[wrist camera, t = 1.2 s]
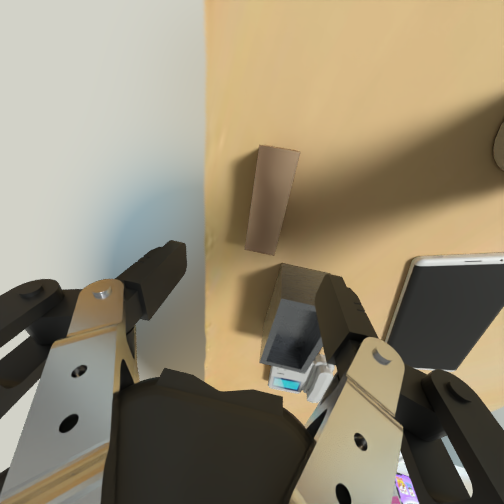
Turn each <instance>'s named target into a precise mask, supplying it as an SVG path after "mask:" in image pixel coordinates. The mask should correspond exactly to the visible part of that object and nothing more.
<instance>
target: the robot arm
mask: <svg viewBox="0 0 504 504" xmlns="http://www.w3.org/2000/svg"><path fill="white" fill-rule="evenodd" d="M493 150H494V159H495V161H496V163H497V165H498V166H499V167H500V168H501V169H502V170H503V171H504V122H503V123H502V125H501V127H500V129H499V131H498V134H497V136H496V138H495V143H494V148H493ZM186 268H187V259H186V245H185V243H182V242H177V241H173V240H171V241H169V242H168V243H167V244H165V245H164V246H163V247H158V248H155V249H153V250H151V251H149V252H148V253H147V254H145V255H144V257H142V258H140V259H139V260H138V262H135V263H134V264H133V265H132V266H130V267H129V268H128V269H127V270H125V271H124V272H123V273H122V274H120V275H119V276H118V277H117V278H115V279H103V280H99V281H96V282H94V283H92V284H89V285H88V286H86V287H85V288H84V289H70V290H62V289H61V287H60V285H59V283H58V282H57V281H55V280H51V279H41V280H35V281H30V282H27V283H24V284H22V285H19V286H17V287H15V288H13V289H11V290H9V291H8V292H6V293H4V294H2V295H1V296H0V347H2V346H3V345H5V344H6V343H7V342H8V341H10V340H11V339H13V338H14V337H15V336H17V335H18V334H19V333H20V332H22V331H23V330H24V329H25V330H26V331H27V332H28V334H29V335H30V337H28V338H27V339H26V340H25V341H23V342H22V343H21V344H20V345H18V346H17V347H16V348H15V349H13V350H12V351H11V352H10V353H8V354H7V355H6V356H5V357H4V358H2V359H1V360H0V419H1V418H2V416H3V415H5V414H6V413H7V411H8V410H9V409H10V408H11V407H12V406H13V405H14V404H15V403H16V402H17V401H18V400H19V399H20V398H21V397H22V396H23V395H24V394H25V393H26V392H27V391H28V390H29V389H30V388H31V387H32V386H33V385H34V384H35V383H36V382H37V380H39V379H40V381H39V384H38V387H37V390H36V393H35V395H34V399H33V402H32V404H31V407H30V410H29V413H28V416H27V419H26V422H25V424H24V427H23V430H22V433H21V436H20V439H19V442H18V445H17V448H16V451H15V453H14V457H13V459H12V462H11V465H10V467H9V468H7V469H6V470H4V471H3V472H1V473H0V504H391V503H392V497H393V491H394V485H395V479H396V473H397V467H398V461H399V455H400V451H401V453H402V456H403V459H404V462H405V465H406V468H407V471H408V473H409V476H410V479H411V482H412V485H413V488H414V491H415V494H416V496H417V499H418V502H419V504H504V430H503V429H502V427H501V426H500V425H499V423H498V422H497V421H496V419H495V418H494V417H493V415H492V414H491V412H490V411H489V410H488V408H487V407H486V406H485V404H484V403H483V402H482V400H481V399H480V398H479V396H478V395H477V394H476V393H475V392H474V391H473V390H472V389H471V388H470V387H469V386H468V385H467V384H466V383H465V382H463V381H462V380H461V379H459V378H458V377H456V376H455V375H453V374H451V373H449V372H447V371H444V370H440V369H435V370H433V371H432V372H430V373H429V374H428V375H427V374H425V373H423V372H421V371H419V370H417V369H415V368H413V367H411V366H409V365H407V364H405V363H403V361H402V359H401V357H400V356H399V354H398V353H397V352H396V351H395V350H394V349H393V348H392V347H391V346H390V345H388V344H387V343H386V342H384V341H382V340H380V339H379V338H378V336H377V334H376V332H375V330H374V328H373V326H372V324H371V322H370V320H369V318H368V316H367V314H366V313H365V310H364V308H363V306H362V305H361V302H360V300H359V298H358V296H357V295H356V294H355V293H354V292H353V291H352V290H351V289H350V288H348V287H346V284H345V282H344V280H343V278H342V277H340V276H336V275H331V274H326V275H325V276H324V278H323V280H322V282H321V284H320V287H319V289H318V291H317V293H316V295H315V309H316V314H317V318H318V323H319V328H320V333H321V338H322V343H323V348H324V353H325V358H326V363H328V364H332V365H336V367H337V373H336V374H335V375H334V377H333V379H332V381H331V383H330V384H329V386H328V388H327V390H326V391H325V393H324V395H323V397H322V399H321V400H320V402H319V404H318V406H317V407H316V409H315V411H314V412H313V414H312V415H311V416H310V418H309V419H308V421H307V422H306V424H305V426H303V424H302V423H301V422H300V421H299V420H298V419H297V418H296V417H295V416H294V415H293V414H292V413H290V412H289V411H288V410H286V409H285V408H283V397H281V396H277V395H273V394H269V393H265V392H261V391H257V390H239V391H225V392H221V391H218V390H216V389H215V388H213V387H212V386H210V385H208V384H207V383H205V382H204V381H202V380H200V379H199V378H197V377H195V376H194V375H191V374H187V373H183V372H179V371H175V370H171V369H167V368H164V370H163V371H162V373H161V375H160V377H155V378H150V379H146V380H143V381H140V380H139V374H138V367H137V344H136V343H137V342H136V325H135V324H136V323H137V322H138V320H139V319H143V320H148V321H149V320H150V319H151V318H152V316H153V315H154V314H155V312H156V311H157V310H158V308H159V307H160V306H161V304H162V303H163V302H164V301H165V299H166V298H167V297H168V295H169V294H170V293H171V291H172V290H173V289H174V287H175V286H176V285H177V283H178V282H179V281H180V280H181V278H182V277H183V276H184V274H185V272H186ZM444 436H448V438H449V440H450V442H451V443H452V445H453V447H454V449H455V451H456V453H457V455H458V457H459V459H460V460H461V462H462V464H463V466H464V468H465V470H466V472H467V474H468V476H469V478H470V480H471V483H472V488H473V494H472V497H471V498H470V496H469V494H468V492H467V490H466V488H465V486H464V484H463V482H462V480H461V478H460V476H459V474H458V472H457V470H456V468H455V466H454V464H453V462H452V460H451V458H450V456H449V454H448V452H447V450H446V448H445V446H444V444H443V442H442V440H441V438H442V437H444Z"/></svg>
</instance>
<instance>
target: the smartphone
mask: <svg viewBox="0 0 504 504" xmlns="http://www.w3.org/2000/svg"><path fill="white" fill-rule="evenodd" d="M503 307H504V253H480V254H457V255H433V256H418V257H416V258H414V259H413V260H412V262H411V265H410V268H409V271H408V274H407V277H406V280H405V283H404V286H403V289H402V292H401V295H400V298H399V301H398V304H397V306H396V309H395V312H394V315H393V318H392V321H391V324H390V327H389V330H388V333H387V336H386V339H385V342H386V343H387V344H388V345H390V346H391V347H392V348H393V349H394V350H395V351H396V352H397V353H398V354H399V356H400V357H401V359H402V361H403V363H405V364H407V365H409V366H411V367H413V368H415V369H421V370H435V369H440V370H444V371H450V372H452V371H455V370H457V368H458V367H459V365H460V364H461V363H462V361H463V360H464V359H465V357H466V356H467V355H468V353H469V352H470V351H471V349H472V348H473V347H474V345H475V344H476V343H477V341H478V340H479V339H480V337H481V336H482V335H483V333H484V332H485V331H486V329H487V328H488V327H489V325H490V324H491V323H492V321H493V320H494V319H495V317H496V316H497V315H498V313H499V312H500V311H501V309H502V308H503Z"/></svg>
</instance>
